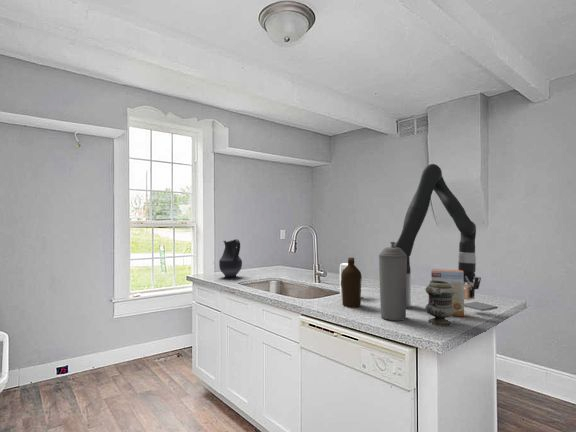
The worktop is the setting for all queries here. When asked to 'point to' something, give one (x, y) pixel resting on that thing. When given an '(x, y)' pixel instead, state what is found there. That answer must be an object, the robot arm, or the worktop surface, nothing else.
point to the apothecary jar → (440, 302)
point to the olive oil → (351, 285)
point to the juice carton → (342, 267)
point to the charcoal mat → (479, 306)
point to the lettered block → (467, 293)
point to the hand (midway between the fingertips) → (466, 296)
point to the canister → (393, 282)
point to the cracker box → (456, 283)
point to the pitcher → (231, 259)
